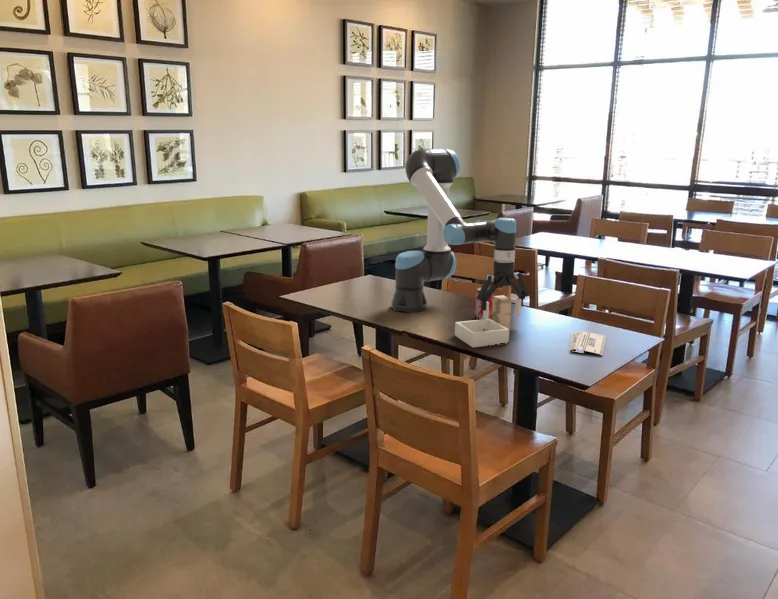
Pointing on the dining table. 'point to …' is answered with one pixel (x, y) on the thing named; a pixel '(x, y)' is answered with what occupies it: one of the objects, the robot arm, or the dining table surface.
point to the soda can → (478, 306)
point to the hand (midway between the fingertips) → (501, 317)
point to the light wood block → (502, 310)
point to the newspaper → (588, 342)
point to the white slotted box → (481, 332)
